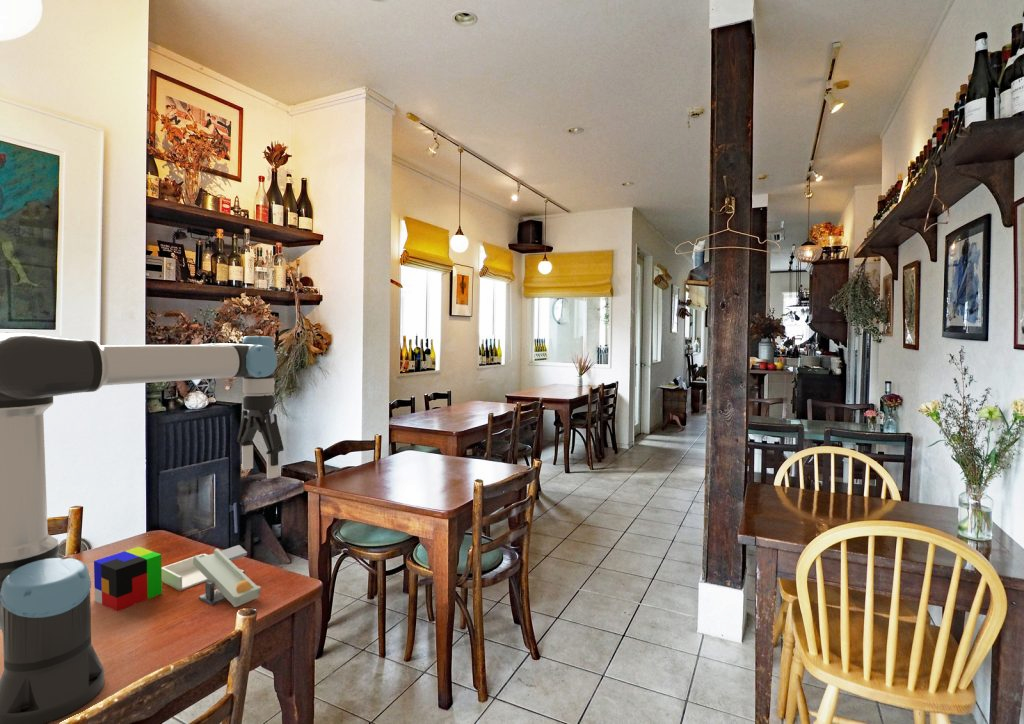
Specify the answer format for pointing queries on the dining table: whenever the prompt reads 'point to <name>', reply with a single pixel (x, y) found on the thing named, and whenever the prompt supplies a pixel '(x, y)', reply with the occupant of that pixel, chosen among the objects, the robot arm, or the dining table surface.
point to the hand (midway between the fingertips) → (259, 473)
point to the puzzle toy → (127, 578)
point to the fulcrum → (213, 594)
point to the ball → (243, 586)
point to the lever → (227, 574)
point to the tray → (183, 574)
